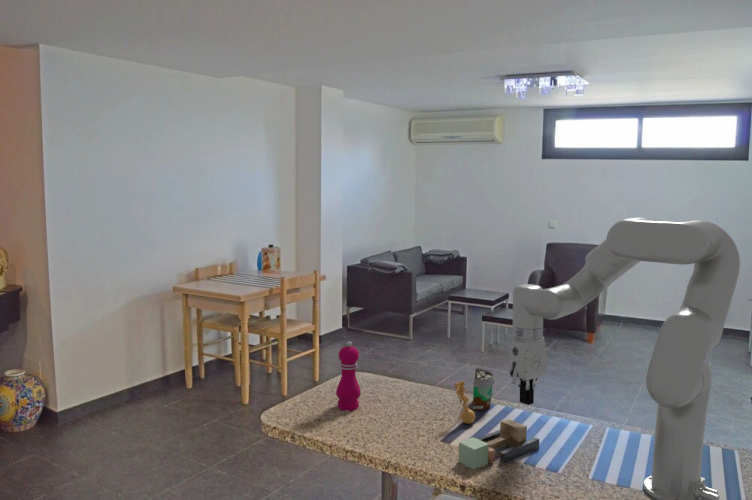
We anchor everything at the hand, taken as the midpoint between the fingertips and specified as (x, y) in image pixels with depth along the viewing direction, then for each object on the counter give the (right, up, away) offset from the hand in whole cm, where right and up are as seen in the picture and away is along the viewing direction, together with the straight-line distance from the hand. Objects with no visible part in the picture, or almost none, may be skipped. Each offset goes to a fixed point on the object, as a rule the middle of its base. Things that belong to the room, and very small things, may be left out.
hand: (526, 402), depth 159 cm
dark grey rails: (-6, -11, -2) cm, 13 cm away
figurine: (-14, -9, +14) cm, 22 cm away
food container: (-6, -8, +27) cm, 29 cm away
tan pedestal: (-8, -11, -4) cm, 14 cm away
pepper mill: (-47, -8, +24) cm, 54 cm away
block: (-15, -12, -10) cm, 22 cm away
